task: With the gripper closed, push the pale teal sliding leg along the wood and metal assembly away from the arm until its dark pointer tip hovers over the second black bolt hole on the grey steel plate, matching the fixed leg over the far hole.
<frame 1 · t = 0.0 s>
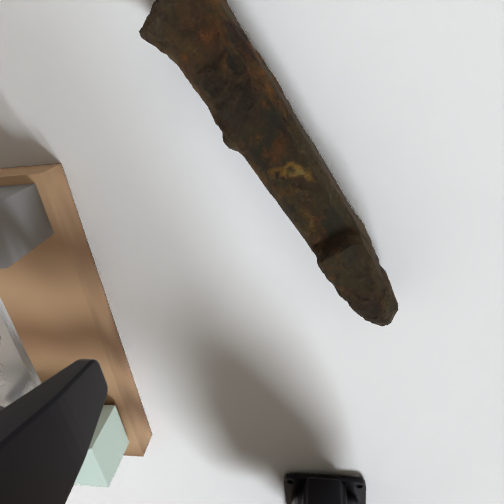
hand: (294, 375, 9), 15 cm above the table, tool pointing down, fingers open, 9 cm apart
wood and metal assembly: (76, 324, 29), on the table
sliding leg: (20, 445, 29), point 4 cm above the table, slide at 0.0 cm
dark brown rough bar: (307, 158, 21), on the table
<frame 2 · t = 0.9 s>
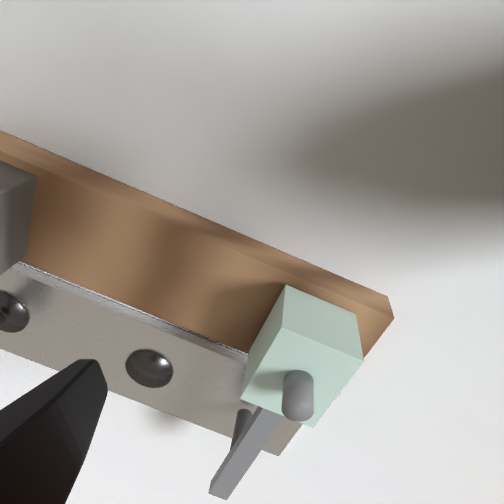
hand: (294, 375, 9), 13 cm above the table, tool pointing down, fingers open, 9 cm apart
wood and metal assembly: (183, 259, 23), on the table
sliding leg: (263, 415, 22), point 4 cm above the table, slide at 0.0 cm
bolt plate: (146, 357, 27), on the table
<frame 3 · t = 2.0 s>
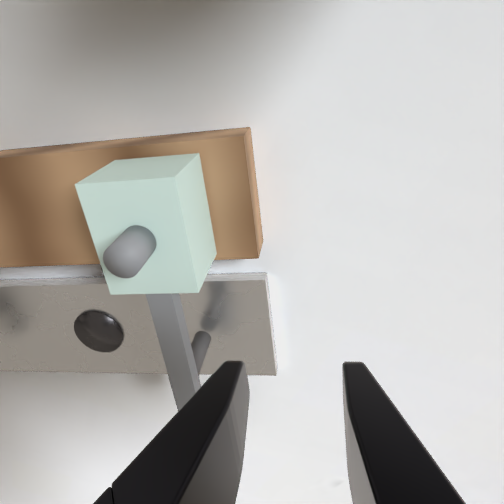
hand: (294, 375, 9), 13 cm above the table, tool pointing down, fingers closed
wood and metal assembly: (54, 201, 22), on the table
sliding leg: (173, 313, 19), point 4 cm above the table, slide at 0.0 cm
bolt plate: (97, 323, 26), on the table
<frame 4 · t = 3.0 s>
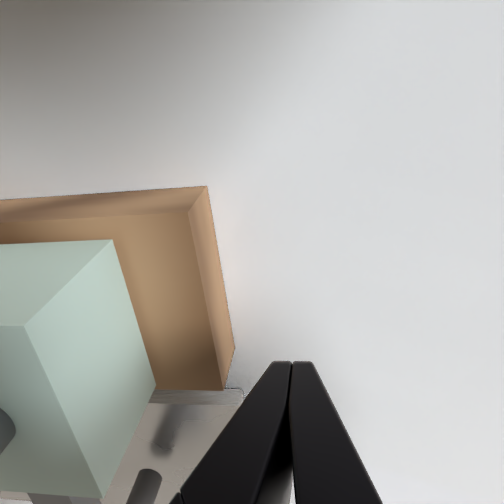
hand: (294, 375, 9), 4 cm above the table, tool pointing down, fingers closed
sliding leg: (81, 489, 12), point 4 cm above the table, slide at 0.0 cm
bolt plate: (10, 438, 19), on the table
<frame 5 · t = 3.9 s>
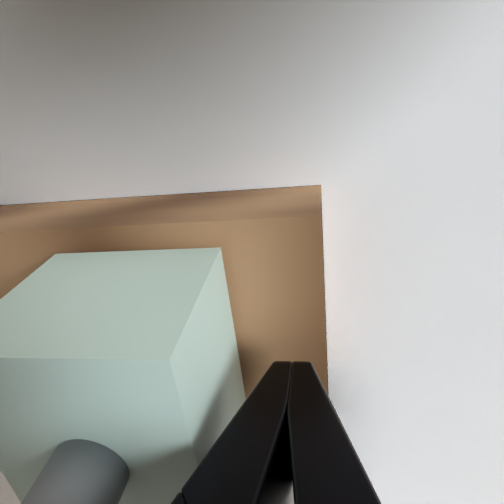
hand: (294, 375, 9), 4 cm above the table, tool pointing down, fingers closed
bolt plate: (60, 457, 17), on the table
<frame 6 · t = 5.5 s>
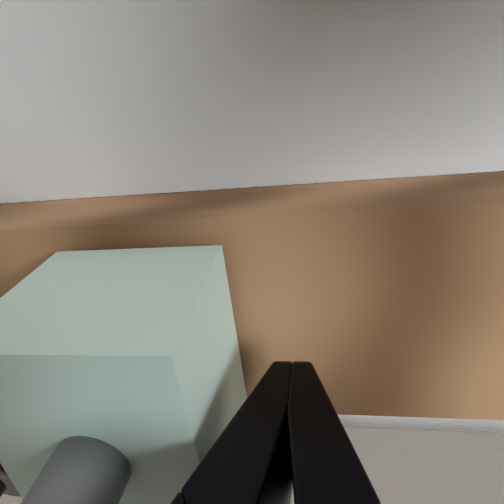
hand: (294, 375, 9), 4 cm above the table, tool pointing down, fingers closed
wood and metal assembly: (185, 286, 12), on the table
bolt plate: (225, 465, 16), on the table
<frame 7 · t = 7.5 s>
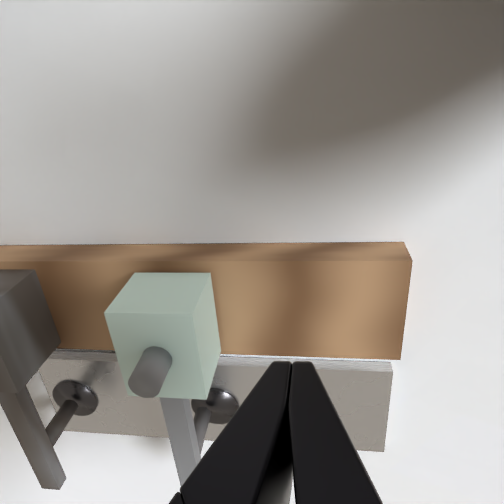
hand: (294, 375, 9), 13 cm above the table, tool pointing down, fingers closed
wood and metal assembly: (193, 289, 23), on the table
sliding leg: (180, 405, 22), point 4 cm above the table, slide at 7.6 cm
bolt plate: (210, 395, 27), on the table
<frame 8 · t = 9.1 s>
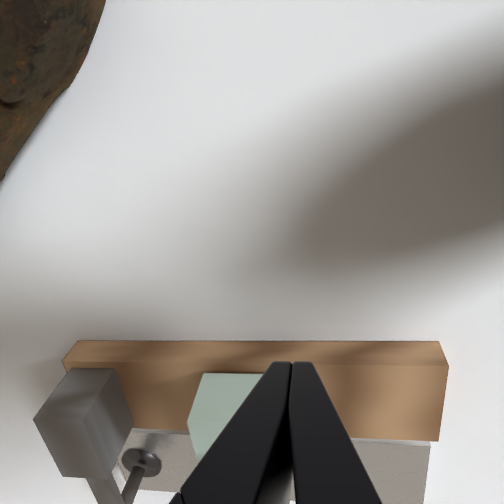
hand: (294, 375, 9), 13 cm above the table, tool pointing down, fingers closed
wood and metal assembly: (249, 376, 27), on the table
sliding leg: (245, 483, 25), point 4 cm above the table, slide at 7.6 cm
dark brown rough bar: (6, 116, 21), on the table
bolt plate: (262, 459, 30), on the table
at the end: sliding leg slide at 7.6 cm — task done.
